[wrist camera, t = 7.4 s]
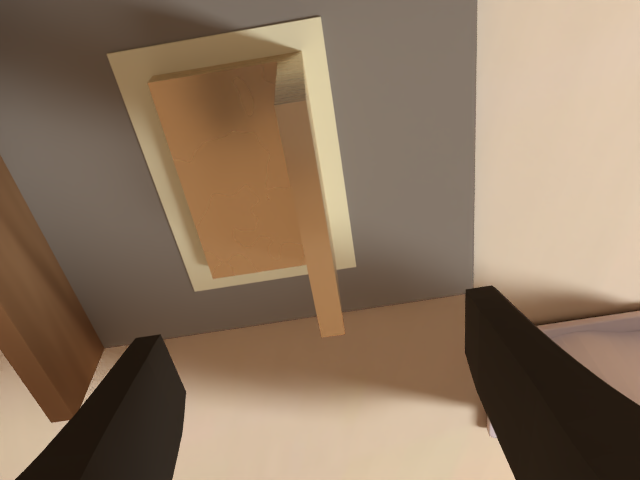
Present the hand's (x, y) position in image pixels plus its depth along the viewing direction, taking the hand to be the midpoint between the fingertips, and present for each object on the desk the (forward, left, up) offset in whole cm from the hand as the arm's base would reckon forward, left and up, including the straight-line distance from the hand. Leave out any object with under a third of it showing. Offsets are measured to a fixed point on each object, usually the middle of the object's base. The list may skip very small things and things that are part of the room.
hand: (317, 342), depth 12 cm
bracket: (+2, -1, -9) cm, 9 cm away
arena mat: (+3, -1, -9) cm, 10 cm away
